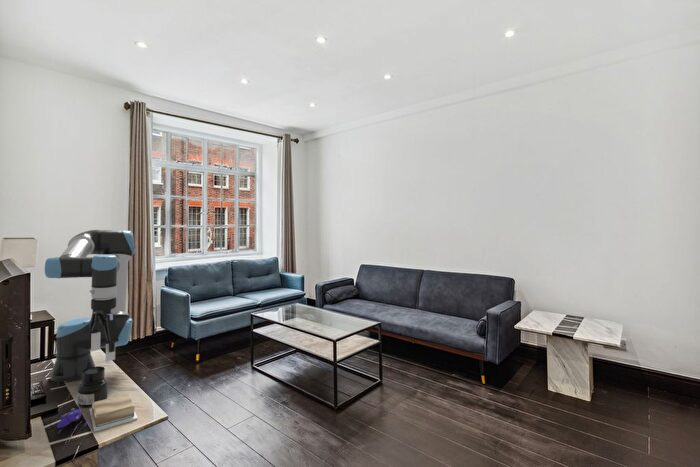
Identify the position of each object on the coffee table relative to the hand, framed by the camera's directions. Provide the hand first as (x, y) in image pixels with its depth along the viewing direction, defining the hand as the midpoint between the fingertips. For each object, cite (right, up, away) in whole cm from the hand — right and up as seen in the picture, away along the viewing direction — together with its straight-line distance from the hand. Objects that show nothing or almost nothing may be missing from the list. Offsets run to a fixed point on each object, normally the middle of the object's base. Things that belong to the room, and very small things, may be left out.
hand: (102, 355), depth 128 cm
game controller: (0, -19, -13) cm, 23 cm away
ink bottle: (-5, -18, +2) cm, 19 cm away
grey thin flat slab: (+8, -19, -6) cm, 21 cm away
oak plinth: (+8, -19, -6) cm, 21 cm away
